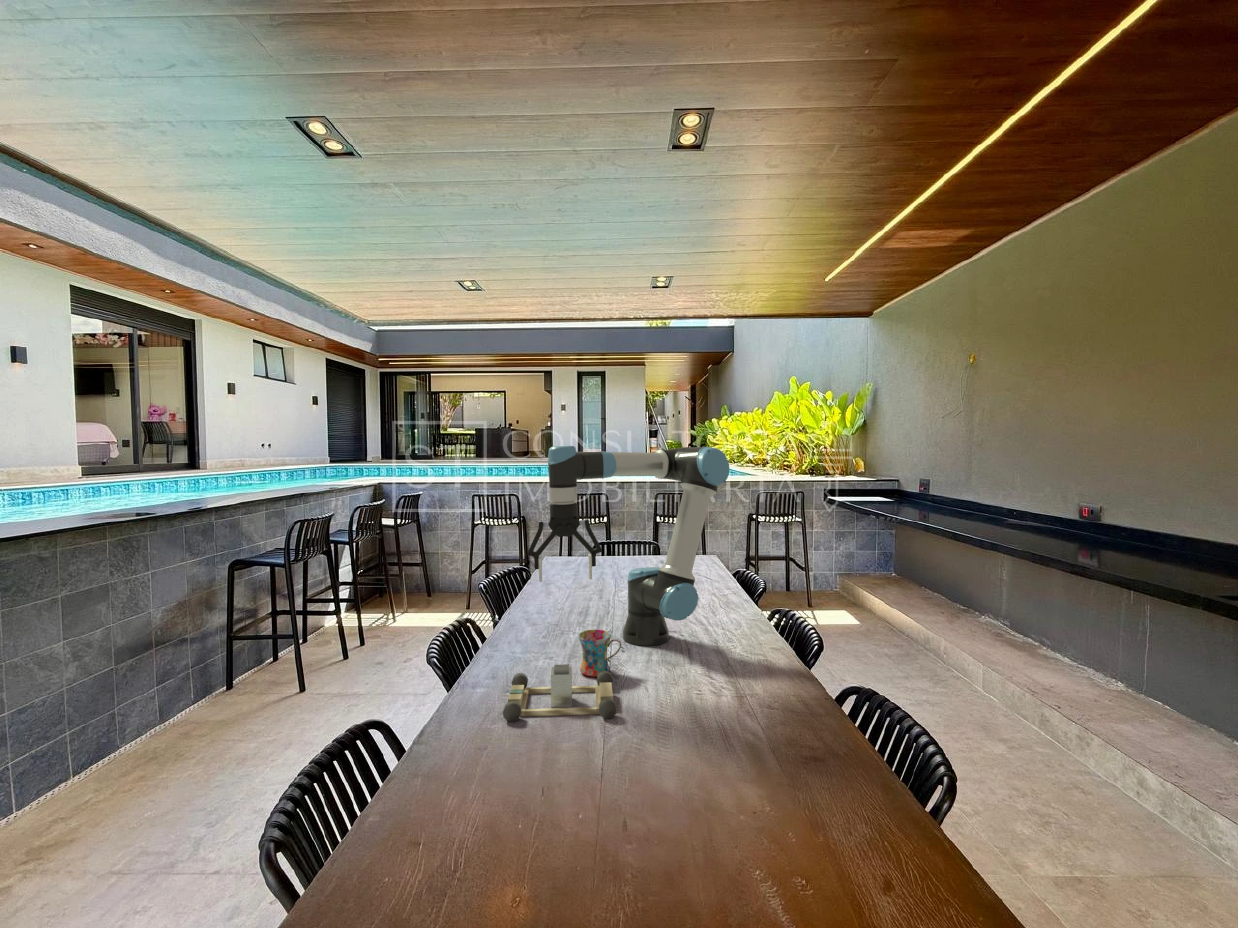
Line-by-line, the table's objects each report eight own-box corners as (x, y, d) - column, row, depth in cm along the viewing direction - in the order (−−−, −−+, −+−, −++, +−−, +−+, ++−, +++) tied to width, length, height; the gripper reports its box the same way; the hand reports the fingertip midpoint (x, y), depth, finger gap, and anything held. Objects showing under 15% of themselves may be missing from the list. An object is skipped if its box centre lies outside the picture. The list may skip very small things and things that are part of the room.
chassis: (612, 685, 149) (612, 670, 149) (616, 718, 131) (616, 701, 131) (512, 688, 147) (512, 673, 147) (502, 722, 129) (502, 704, 129)
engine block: (571, 697, 142) (571, 663, 141) (571, 706, 137) (571, 671, 136) (551, 698, 141) (551, 663, 141) (551, 707, 136) (550, 671, 136)
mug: (576, 679, 153) (576, 640, 152) (579, 665, 162) (579, 629, 162) (621, 679, 153) (621, 640, 152) (621, 665, 162) (621, 629, 162)
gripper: (607, 499, 159) (609, 573, 160) (518, 502, 156) (520, 578, 157) (610, 502, 151) (612, 580, 152) (516, 505, 149) (518, 585, 150)
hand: (565, 579), depth 155 cm, fingers open, 13 cm apart
